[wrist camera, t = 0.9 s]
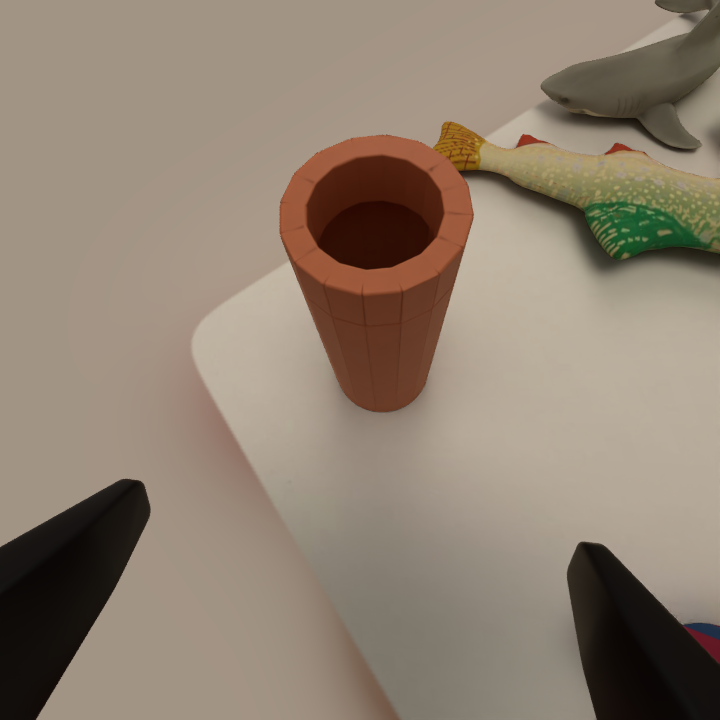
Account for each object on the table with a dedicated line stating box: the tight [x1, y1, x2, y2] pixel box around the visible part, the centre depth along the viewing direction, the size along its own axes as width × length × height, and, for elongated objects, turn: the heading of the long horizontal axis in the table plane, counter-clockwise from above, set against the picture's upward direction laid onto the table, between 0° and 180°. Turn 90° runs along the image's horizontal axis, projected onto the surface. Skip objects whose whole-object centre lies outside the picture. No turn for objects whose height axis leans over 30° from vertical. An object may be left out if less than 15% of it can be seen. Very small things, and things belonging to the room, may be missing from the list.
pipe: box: [280, 135, 474, 412], centre depth 18 cm, size 5×5×14 cm
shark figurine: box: [541, 0, 720, 149], centre depth 28 cm, size 14×17×8 cm
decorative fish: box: [433, 122, 720, 260], centre depth 26 cm, size 3×26×10 cm
